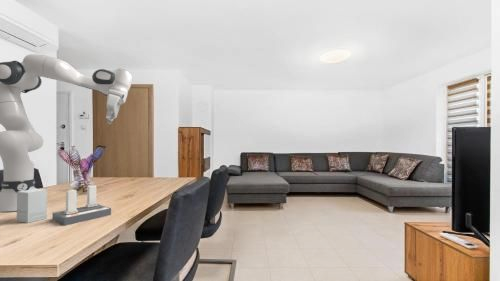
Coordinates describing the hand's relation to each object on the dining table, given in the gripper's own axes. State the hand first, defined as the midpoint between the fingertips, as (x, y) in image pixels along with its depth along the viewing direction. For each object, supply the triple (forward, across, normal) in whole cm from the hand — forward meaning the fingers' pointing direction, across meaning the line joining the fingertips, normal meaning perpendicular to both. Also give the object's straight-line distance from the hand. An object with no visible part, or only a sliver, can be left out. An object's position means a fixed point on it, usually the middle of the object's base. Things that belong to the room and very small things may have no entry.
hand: (108, 121), depth 124 cm
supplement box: (+51, +1, -14) cm, 53 cm away
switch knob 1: (+46, +10, 0) cm, 47 cm away
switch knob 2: (+42, +1, +5) cm, 43 cm away
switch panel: (+47, +6, +4) cm, 47 cm away
